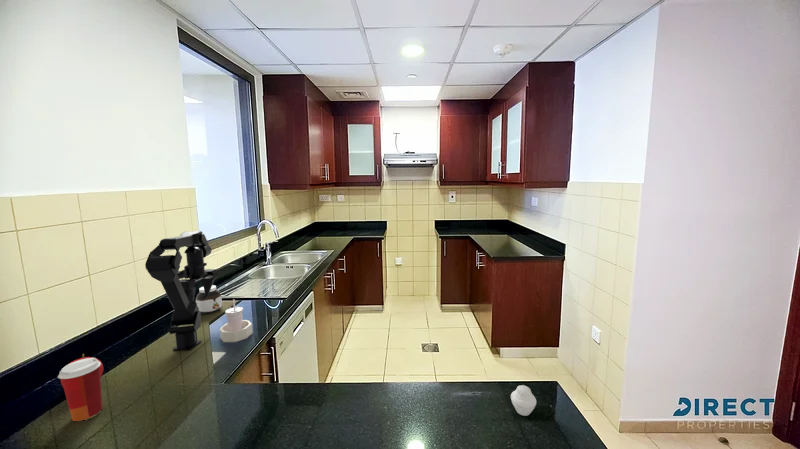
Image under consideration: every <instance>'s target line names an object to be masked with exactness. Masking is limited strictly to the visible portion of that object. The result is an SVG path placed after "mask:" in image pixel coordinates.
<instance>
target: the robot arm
mask: <svg viewBox="0 0 800 449" xmlns="http://www.w3.org/2000/svg"><path fill="white" fill-rule="evenodd" d="M184 247H185V248H186V249H185V250H184V252H183V253H184V254H186V255H185V256H186V264H187V265H185V266H184V269H182V270H180V268H181V266H180V265H181V263H182V262H181V261H182V259H183V256H182V254H181V252H180V248H184ZM174 250H175V251H176V252H175V254H169V255H167V254H166V255H163V254H164V253H165V252H166V251H174ZM212 251H213V250H212V247H211V246H210V244H209V242H208V239H207V237H206V235H205V233H203V231H201V230H198V231H197V230H196V231H194V230H193V231H184V232H181V233H180V235H178V236H174V237H168V238H167V237H166V238H162V239H161V240H160V241H159V243H158V245H156V247H155V248H154V249H152V250H151V251H150V252H149V254H148V256H147V258H146V261H145V264H144V265H145V270H146V271H147V273H148V274H149V276H151V278H153V279H154V280H157V281H159V282H160V283H161V286H162V287H163V290H164V291H165V294H166V296H167V298H168V300H169V303H170V304H171V306H172V308H173V312H172V315H171V321H170V324H169V327H168V333H169V335H172V334H173V335H175V344H176V346H174V347H173V348H172V350H173V351H190V350H192V349H193V348H195V347H196V346H198V345H199V344H200V343H201V342H202V340H201V339H198V333H197V331H198V330H199V329H200V327H201V324H202V323H201V322H202V313H201V312H200V311H199V308H198V306H197V303H196V300H195V294H196V288H197V287H196V286H195V285H196V282H199V281H200V282H202V285H203V286H202V287H204V292H205V295H208V294H209V292H210V289H211V287H212V285H214V282H215V281H216V279H217V277H218V276H219V271H218V269H215V268H211V269H208V268H206V269H205V266H208V265H207V264H208V263H207V262H205V258H206V257H208V256H209V255H211V253H212Z"/></svg>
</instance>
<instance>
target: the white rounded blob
mask: <svg viewBox="0 0 800 449" xmlns="http://www.w3.org/2000/svg"><path fill="white" fill-rule="evenodd" d="M531 390H532V389H531V388H530V387H529V386H526V385H524V384H522V385H518V386H517V387H516V389H515V390H513V391H512V392H511V394H510V399H511V404H512V405H513V407H514V409H515V411H516V413H517V414H519V415H521V416H524V417H526V416H530V414H531V413H532V412H533V410H534V409H535V408H536V406H537V399H536V397H535V396H534V394H533V393H532V391H531Z"/></svg>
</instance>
